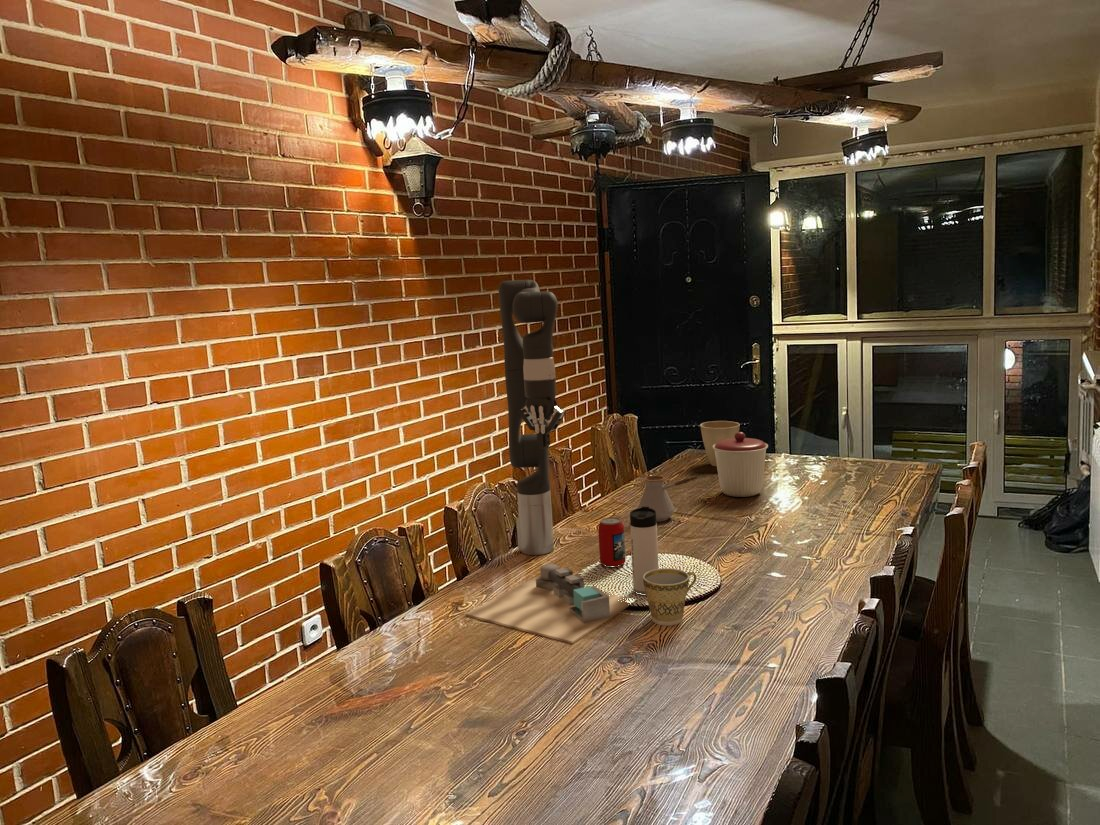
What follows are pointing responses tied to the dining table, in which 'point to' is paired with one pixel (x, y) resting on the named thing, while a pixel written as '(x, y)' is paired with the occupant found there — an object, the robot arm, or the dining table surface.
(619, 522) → the beverage can
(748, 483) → the canister
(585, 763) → the dining table surface
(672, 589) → the ceramic cup
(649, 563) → the travel mug
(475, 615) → the board
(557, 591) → the clip
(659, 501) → the coffee pot
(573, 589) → the cable arm
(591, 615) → the end holder
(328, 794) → the dining table surface
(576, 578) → the clip
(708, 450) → the plant pot
